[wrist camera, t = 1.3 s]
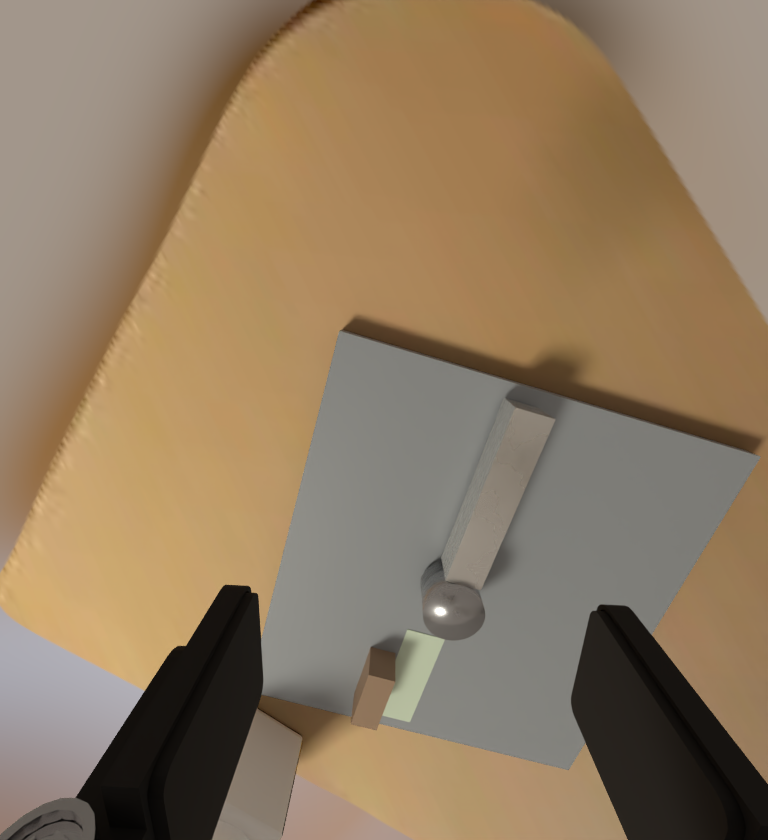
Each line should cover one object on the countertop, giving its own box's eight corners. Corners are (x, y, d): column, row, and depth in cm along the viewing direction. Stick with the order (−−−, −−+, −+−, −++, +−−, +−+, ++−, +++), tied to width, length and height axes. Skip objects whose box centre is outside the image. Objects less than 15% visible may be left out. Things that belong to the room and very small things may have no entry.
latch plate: (744, 450, 26) (797, 472, 23) (562, 754, 34) (581, 804, 31) (342, 329, 25) (333, 333, 21) (253, 677, 33) (236, 721, 30)
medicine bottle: (259, 776, 36) (196, 994, 25) (195, 739, 35) (98, 948, 24) (305, 735, 35) (260, 948, 23) (239, 694, 34) (158, 897, 22)
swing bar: (465, 612, 29) (472, 646, 26) (413, 598, 28) (415, 631, 26) (551, 411, 24) (572, 425, 21) (491, 393, 24) (504, 405, 21)
